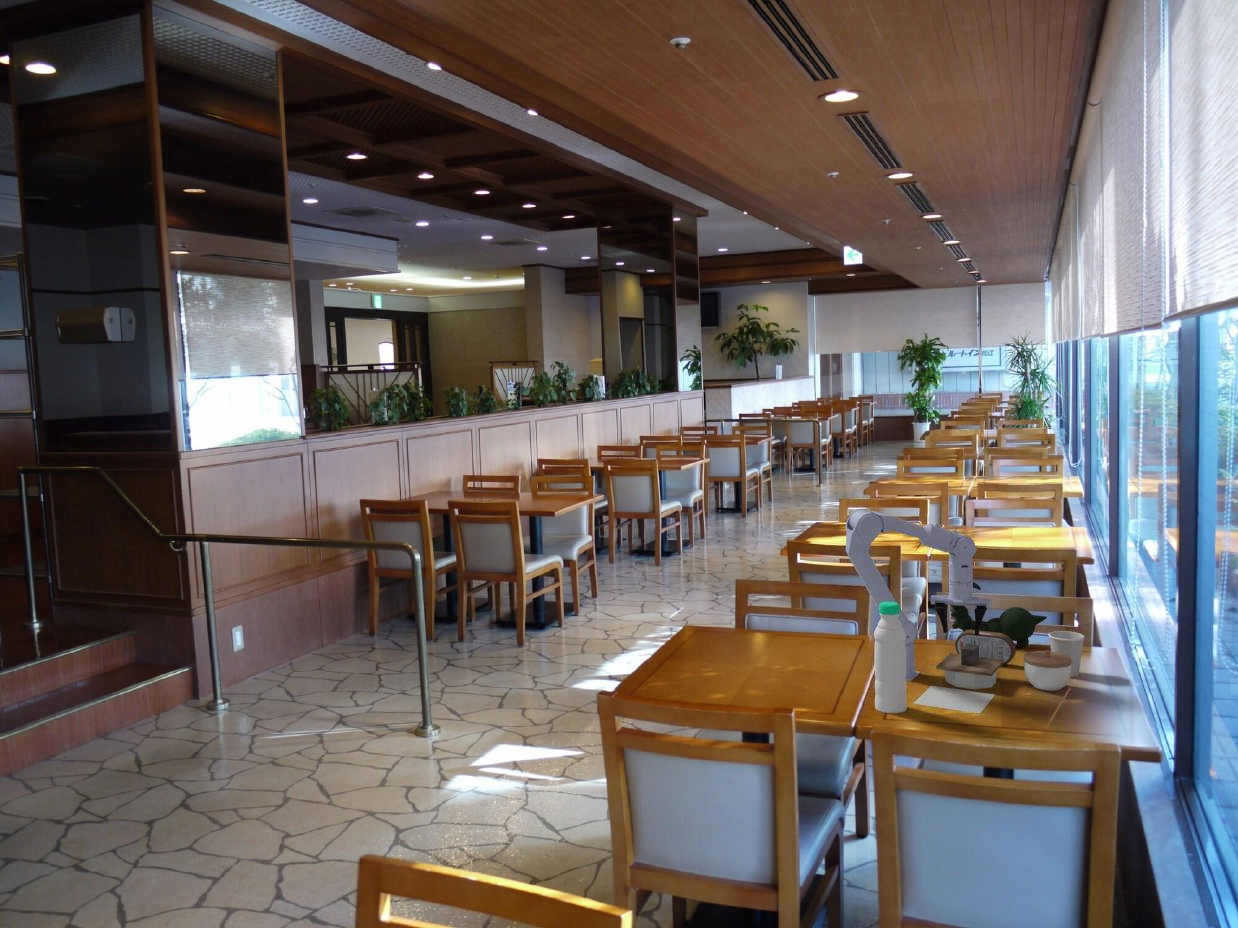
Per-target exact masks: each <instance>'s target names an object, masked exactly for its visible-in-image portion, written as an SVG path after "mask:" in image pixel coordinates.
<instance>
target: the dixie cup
mask: <svg viewBox="0 0 1238 928" xmlns="http://www.w3.org/2000/svg"><path fill="white" fill-rule="evenodd" d="M1047 635H1048V637H1049V643H1050V645H1049V646H1050V652H1057V653H1061V654H1065V655H1067V656H1069V657H1071V659H1072V664H1071V675H1070V678H1076V677H1075V676H1077V677H1079V675H1080V668H1081V667H1080V666H1081V661H1082V654H1083V648H1084V647H1083V646H1084V639H1085V635H1084V634H1082V633H1079V632H1075V631H1069V630H1068V631H1067V630H1055V631H1052V632H1051V631H1050V632H1049V633H1048V634H1047Z"/></svg>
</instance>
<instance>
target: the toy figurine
mask: <svg viewBox="0 0 1238 928" xmlns="http://www.w3.org/2000/svg"><path fill="white" fill-rule="evenodd" d="M973 589H976V590H978V591H981V586H980V585H979V584H978V583H976V582H975V581H973ZM949 606H950V607H951V608H952V612H951V613H950V617H951V618H954V619H955V620H954V621H953V623H952V624H951V627H952V629H954V630H958V629H959V630H962V632H963V631H966V630H975V619H974V620H973V618H972V617H971V615H970V614H969V610H968V608H967V606H959V605H949ZM1046 619H1048V618H1047V616H1045V615H1038V614H1032V613H1031V612H1030V611H1028V610H1027V609H1025V608H1023V607H1019V606H1012V607H1009V608H1006V609H1005V610H1004V611H1003V612H1002V613H1001V614H1000V615H999V617H992V618H990V619H988V620H987V621H984V620H982V622H981V626H980V630H979V631H987V632H996V633H1002V634H1005V635H1007V636H1008V637H1010V638H1011V639H1012V641H1013V642H1016V645H1017V646H1018V647H1019V646H1020V647H1019V648H1022V647H1024V648H1027V647H1028V646H1029V642H1030V640H1029V639H1030V638H1031V637H1032V636H1033V634H1034V633H1035V630H1036V627H1037V625H1039V624H1040V623H1042V622H1043V621H1045V620H1046Z"/></svg>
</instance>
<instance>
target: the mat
mask: <svg viewBox="0 0 1238 928" xmlns="http://www.w3.org/2000/svg"><path fill="white" fill-rule="evenodd" d="M995 696H996V694H994V693H987V692H980V691H972V690H965V689H960V688H959V689H958V688H953V687H952V688H951V687H945V686H935V685H930V686H929V687H928V688H927V690H925V692H924V693H923V694H921V695H920V696H919V697H918V698H917V699H916V700H915V701H914V702H913V703H912V704H913V705H920V706H926V707H932V708H940V709H947V710H953V711H958V712H965V713H966V712H967V713H973V714H979V715H980V714H981V713H982V712H983V711H984V709H985V708H986V707H987V706H988V705H989V703H990V702H991V701H992V700H993V699H994V697H995Z"/></svg>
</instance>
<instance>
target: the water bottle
mask: <svg viewBox="0 0 1238 928" xmlns="http://www.w3.org/2000/svg"><path fill="white" fill-rule="evenodd" d="M900 609H901V605H900V603H898V602H897V601H896V602H882V603H880V604H879V610H878V614H879V613H880V614H879V616H880V615H881V616H880V619H879V621H878V622H877V626H876V627H875V630H874V632H873V638H874V653H873V654H874V656H873V657H874V658H873V659H874V675H875V676H876V677H875V676H874V677H875V681H874V692H875V697H874V707H875V709H876V711H879V712H882V713H885V714H901V713H904V712H906V711H907V708H908V707H907V706H908V702H907V681H906V680H905V678H906V646H905V639H906V633H905V631H904V629H903V627H902V624H901V622H900V621H899V619H898V616H899V615H900V614H899V613H900Z"/></svg>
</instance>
